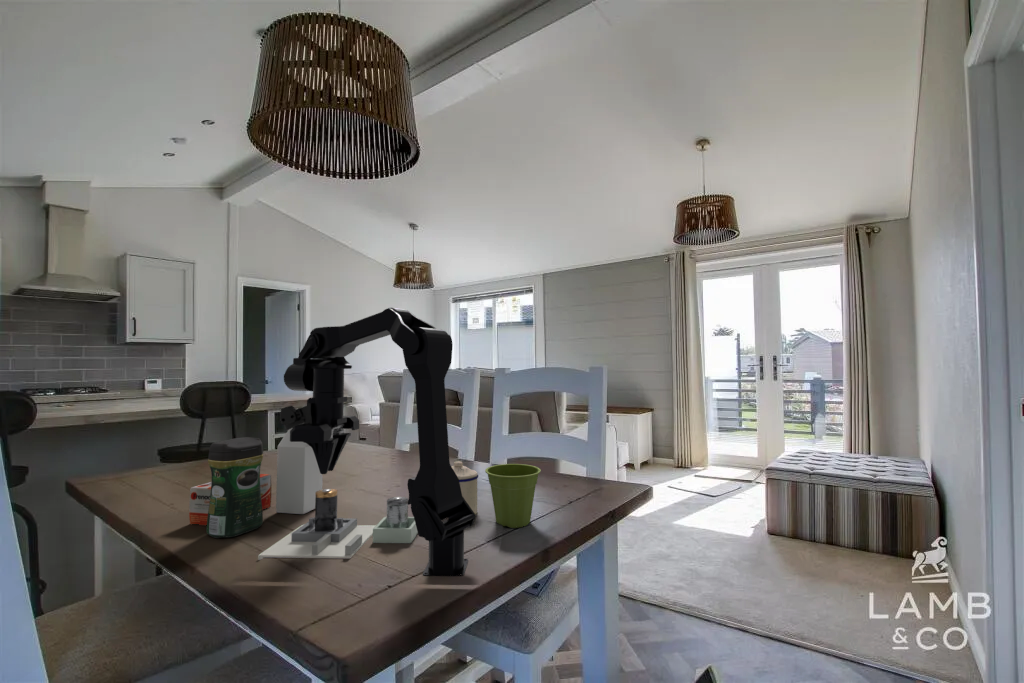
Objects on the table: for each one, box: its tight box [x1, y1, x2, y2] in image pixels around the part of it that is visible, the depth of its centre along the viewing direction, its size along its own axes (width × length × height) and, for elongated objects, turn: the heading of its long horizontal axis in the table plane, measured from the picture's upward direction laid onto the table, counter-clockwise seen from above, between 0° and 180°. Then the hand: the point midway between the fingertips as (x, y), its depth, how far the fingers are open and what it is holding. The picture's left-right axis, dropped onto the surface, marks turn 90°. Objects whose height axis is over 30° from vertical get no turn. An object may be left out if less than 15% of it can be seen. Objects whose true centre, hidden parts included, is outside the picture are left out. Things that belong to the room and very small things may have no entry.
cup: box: [372, 516, 418, 544], centre depth 93 cm, size 7×7×3 cm
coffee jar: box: [206, 436, 264, 539], centre depth 97 cm, size 10×8×19 cm
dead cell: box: [386, 496, 409, 528], centre depth 93 cm, size 4×4×7 cm
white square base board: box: [257, 517, 377, 561], centre depth 90 cm, size 16×16×3 cm
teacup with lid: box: [451, 460, 479, 515], centre depth 109 cm, size 12×9×12 cm
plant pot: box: [484, 463, 542, 529], centre depth 102 cm, size 12×12×11 cm
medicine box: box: [188, 473, 272, 526], centre depth 108 cm, size 15×8×8 cm, turn 167°
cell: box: [314, 488, 338, 531], centre depth 93 cm, size 4×4×7 cm
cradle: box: [304, 516, 346, 532], centre depth 93 cm, size 6×6×3 cm
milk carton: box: [275, 428, 324, 515], centre depth 112 cm, size 7×7×19 cm
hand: (326, 472), depth 94 cm, fingers open, 3 cm apart
